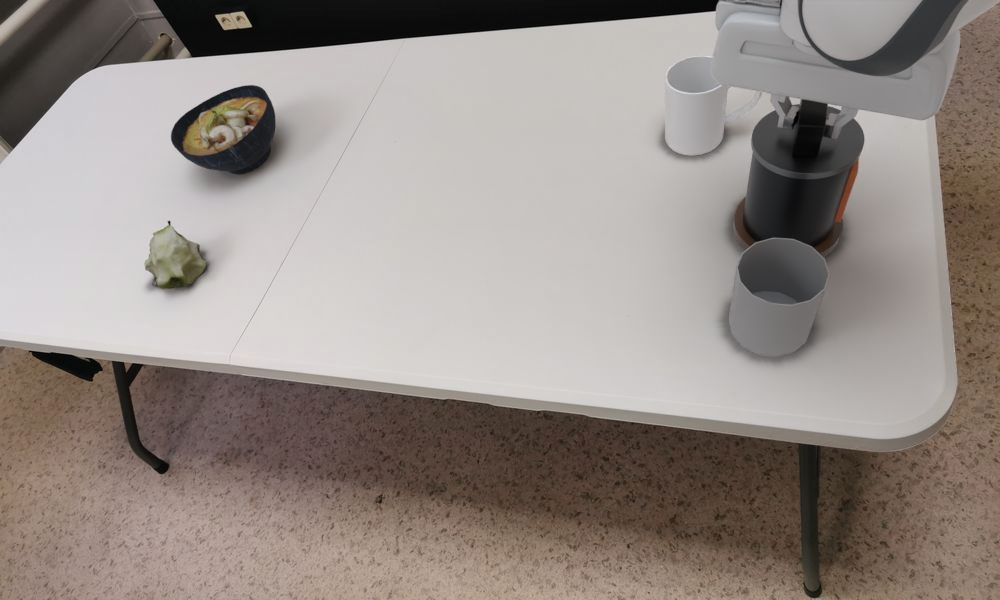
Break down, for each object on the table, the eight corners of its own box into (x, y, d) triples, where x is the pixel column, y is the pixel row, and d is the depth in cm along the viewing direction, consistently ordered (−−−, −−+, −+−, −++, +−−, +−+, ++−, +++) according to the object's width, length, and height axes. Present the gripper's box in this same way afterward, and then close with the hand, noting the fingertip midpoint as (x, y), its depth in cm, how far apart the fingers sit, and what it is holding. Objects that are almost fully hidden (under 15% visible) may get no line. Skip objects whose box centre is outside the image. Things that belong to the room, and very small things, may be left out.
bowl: (202, 146, 113) (167, 102, 105) (289, 112, 113) (261, 65, 105) (203, 206, 103) (165, 162, 95) (299, 169, 103) (268, 121, 95)
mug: (664, 158, 86) (664, 96, 78) (665, 120, 90) (665, 58, 82) (757, 153, 83) (768, 88, 74) (754, 114, 87) (763, 49, 79)
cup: (810, 297, 69) (829, 241, 61) (810, 361, 65) (830, 309, 57) (731, 290, 72) (739, 235, 64) (725, 351, 68) (733, 300, 60)
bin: (840, 191, 74) (878, 72, 61) (834, 259, 69) (874, 146, 56) (746, 183, 78) (762, 70, 65) (734, 247, 73) (749, 139, 60)
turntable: (848, 201, 75) (851, 193, 74) (829, 277, 70) (832, 269, 69) (746, 185, 80) (748, 176, 79) (721, 254, 75) (722, 246, 74)
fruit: (182, 252, 99) (158, 213, 93) (226, 266, 96) (205, 226, 91) (139, 291, 94) (111, 252, 88) (185, 306, 91) (160, 267, 85)
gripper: (703, 6, 55) (697, 128, 66) (970, 38, 46) (912, 174, 57) (730, -32, 58) (720, 91, 69) (989, -9, 48) (930, 130, 59)
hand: (809, 129), depth 63 cm, fingers closed on bin, 3 cm apart
